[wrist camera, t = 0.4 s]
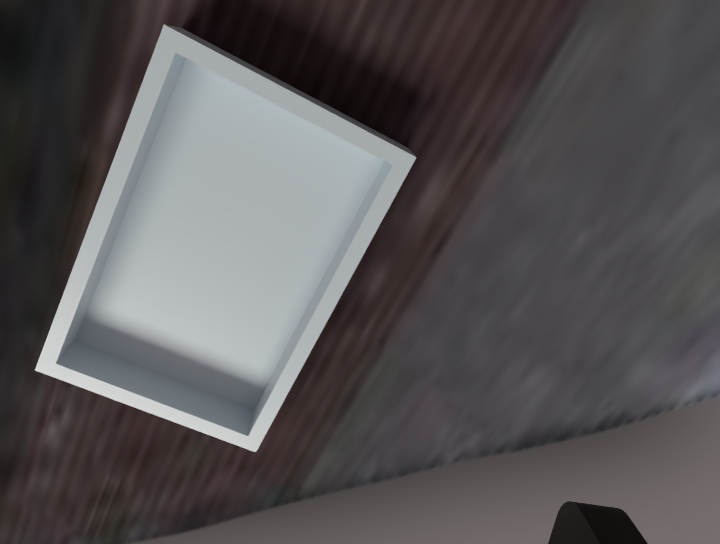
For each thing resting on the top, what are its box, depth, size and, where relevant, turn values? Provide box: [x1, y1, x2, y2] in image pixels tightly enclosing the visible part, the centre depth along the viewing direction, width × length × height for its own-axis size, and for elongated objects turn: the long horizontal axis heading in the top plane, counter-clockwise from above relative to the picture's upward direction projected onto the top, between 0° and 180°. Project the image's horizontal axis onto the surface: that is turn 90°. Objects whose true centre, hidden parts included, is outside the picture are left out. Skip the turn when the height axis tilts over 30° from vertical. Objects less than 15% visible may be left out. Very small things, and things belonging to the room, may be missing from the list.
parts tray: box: [35, 25, 416, 452], centre depth 29 cm, size 18×12×3 cm, turn 153°
